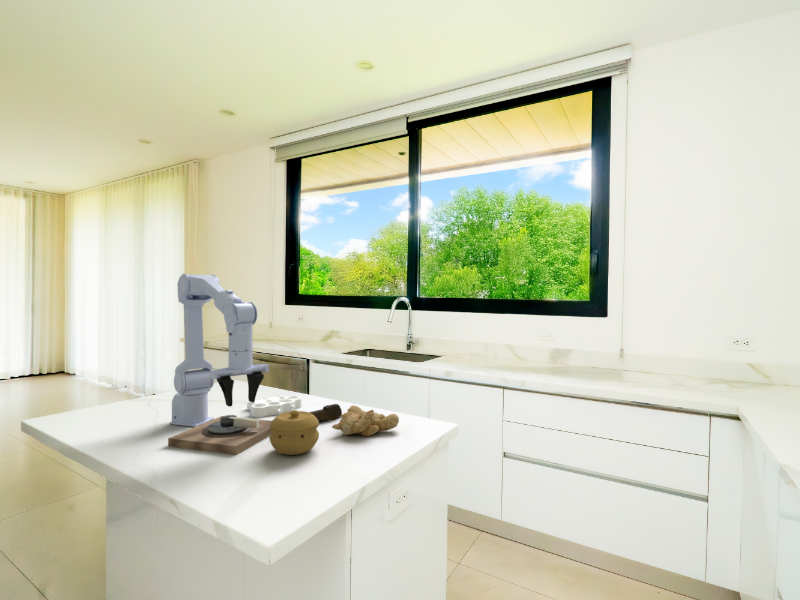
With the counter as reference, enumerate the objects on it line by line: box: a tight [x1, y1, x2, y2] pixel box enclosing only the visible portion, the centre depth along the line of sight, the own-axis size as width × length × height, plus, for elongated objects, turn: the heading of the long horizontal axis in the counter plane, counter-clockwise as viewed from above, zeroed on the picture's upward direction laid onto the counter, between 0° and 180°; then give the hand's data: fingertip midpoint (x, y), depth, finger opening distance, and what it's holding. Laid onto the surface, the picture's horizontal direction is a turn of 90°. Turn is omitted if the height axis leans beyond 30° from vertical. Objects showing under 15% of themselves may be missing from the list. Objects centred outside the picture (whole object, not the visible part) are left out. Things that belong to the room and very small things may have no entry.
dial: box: [208, 414, 260, 435], centre depth 111 cm, size 14×10×3 cm
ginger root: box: [331, 405, 400, 437], centre depth 117 cm, size 16×16×8 cm
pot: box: [268, 409, 320, 456], centre depth 102 cm, size 12×12×10 cm
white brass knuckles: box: [246, 395, 303, 418], centre depth 139 cm, size 3×18×15 cm
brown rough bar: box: [308, 403, 343, 422], centre depth 125 cm, size 19×4×5 cm, turn 129°
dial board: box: [167, 415, 272, 456], centre depth 112 cm, size 20×20×2 cm
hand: (240, 403), depth 107 cm, fingers open, 5 cm apart
